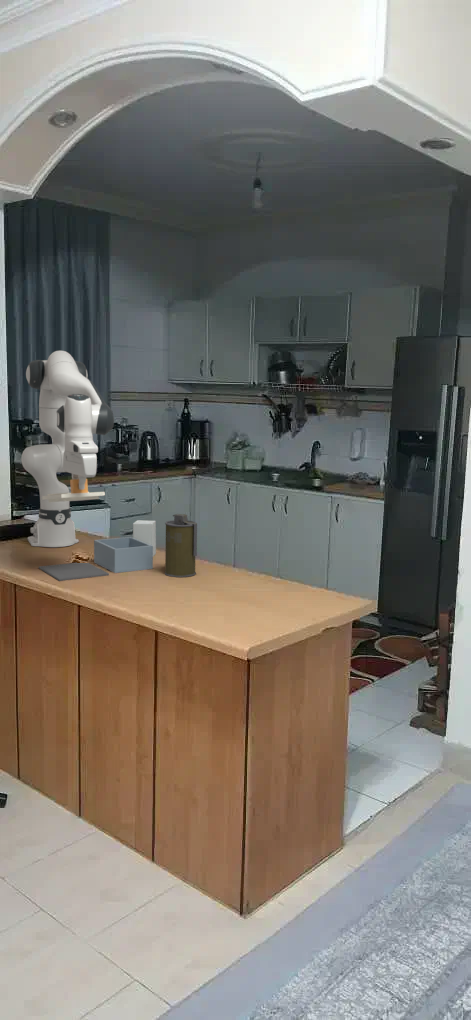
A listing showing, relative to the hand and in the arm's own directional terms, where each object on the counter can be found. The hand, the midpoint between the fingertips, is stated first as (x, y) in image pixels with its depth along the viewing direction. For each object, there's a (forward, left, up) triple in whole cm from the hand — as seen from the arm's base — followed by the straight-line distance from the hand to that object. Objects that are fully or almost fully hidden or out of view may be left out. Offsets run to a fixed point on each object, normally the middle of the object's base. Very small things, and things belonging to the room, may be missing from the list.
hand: (79, 488), depth 254 cm
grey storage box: (-7, +19, -29) cm, 35 cm away
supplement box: (-19, +33, -29) cm, 47 cm away
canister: (+13, +31, -29) cm, 44 cm away
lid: (-5, 0, -5) cm, 7 cm away
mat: (-6, 0, -29) cm, 29 cm away
